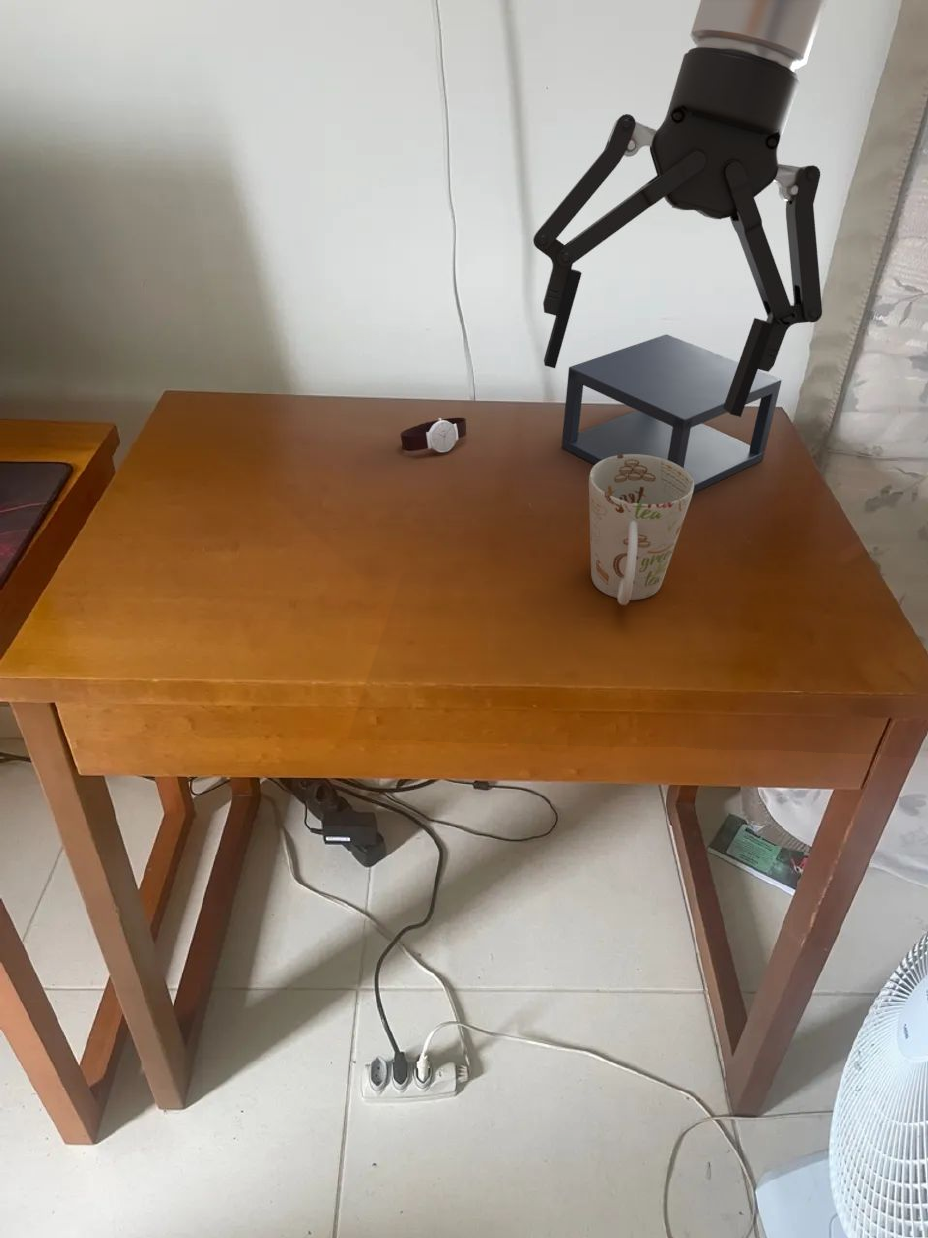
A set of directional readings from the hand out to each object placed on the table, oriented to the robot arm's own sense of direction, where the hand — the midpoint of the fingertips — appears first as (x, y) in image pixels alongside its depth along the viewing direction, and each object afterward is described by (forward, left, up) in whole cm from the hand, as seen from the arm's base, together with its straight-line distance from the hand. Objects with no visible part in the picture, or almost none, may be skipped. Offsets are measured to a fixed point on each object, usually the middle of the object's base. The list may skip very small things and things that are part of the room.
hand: (640, 389), depth 70 cm
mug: (0, -2, -19) cm, 19 cm away
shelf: (+15, -24, -19) cm, 34 cm away
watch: (+31, -6, -19) cm, 37 cm away
